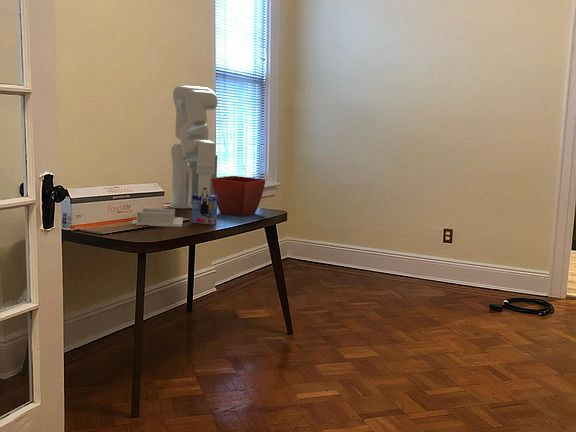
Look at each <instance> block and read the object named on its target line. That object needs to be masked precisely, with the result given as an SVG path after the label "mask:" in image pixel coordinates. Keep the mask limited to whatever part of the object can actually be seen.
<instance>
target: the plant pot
mask: <svg viewBox="0 0 576 432" xmlns="http://www.w3.org/2000/svg"><path fill="white" fill-rule="evenodd" d="M265 185H266V179H263V178H255V177H248V176H240V175H239V176H238V175H229V176H221V177H220V176H219V177H218V176H217V178H212V186H213V191H214V195H217V210H218V212H219V214H223V215H229V216H235V215H236V216H237V217H246V216H250V215H254V214H256V212H257V210H258V208H259V205H260V202H261V199H262V196H263V193H264V189H265ZM253 213H254V214H253ZM245 215H246V216H245ZM236 216H235V217H236Z"/></svg>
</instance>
